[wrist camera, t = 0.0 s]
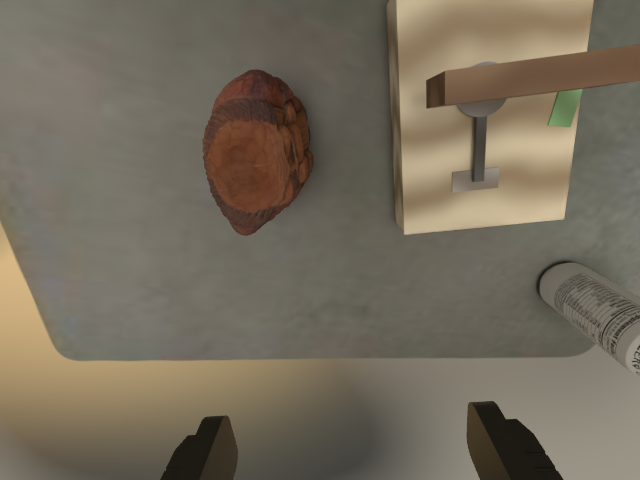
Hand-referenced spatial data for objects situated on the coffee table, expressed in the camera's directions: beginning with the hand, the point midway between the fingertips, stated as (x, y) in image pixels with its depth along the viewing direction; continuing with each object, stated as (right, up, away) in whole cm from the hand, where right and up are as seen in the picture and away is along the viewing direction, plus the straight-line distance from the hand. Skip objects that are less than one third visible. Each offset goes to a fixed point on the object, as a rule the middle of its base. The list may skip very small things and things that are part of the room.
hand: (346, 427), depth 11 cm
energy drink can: (+29, +1, +30) cm, 42 cm away
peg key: (+14, +17, +19) cm, 29 cm away
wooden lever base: (+15, +20, +24) cm, 34 cm away
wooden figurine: (-5, +17, +26) cm, 31 cm away
